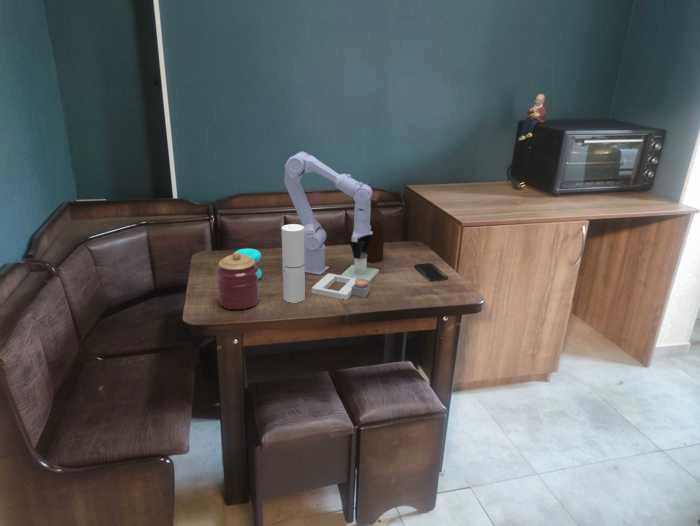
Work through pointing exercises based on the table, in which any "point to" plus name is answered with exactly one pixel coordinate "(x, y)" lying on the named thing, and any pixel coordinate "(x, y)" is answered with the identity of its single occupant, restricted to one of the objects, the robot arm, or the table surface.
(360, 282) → the plunger
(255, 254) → the cyan rounded piece
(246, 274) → the canister
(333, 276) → the housing
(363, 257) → the cylinder
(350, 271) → the mat
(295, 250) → the cylindrical container
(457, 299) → the table surface
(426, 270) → the phone
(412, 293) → the table surface
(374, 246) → the olive oil
